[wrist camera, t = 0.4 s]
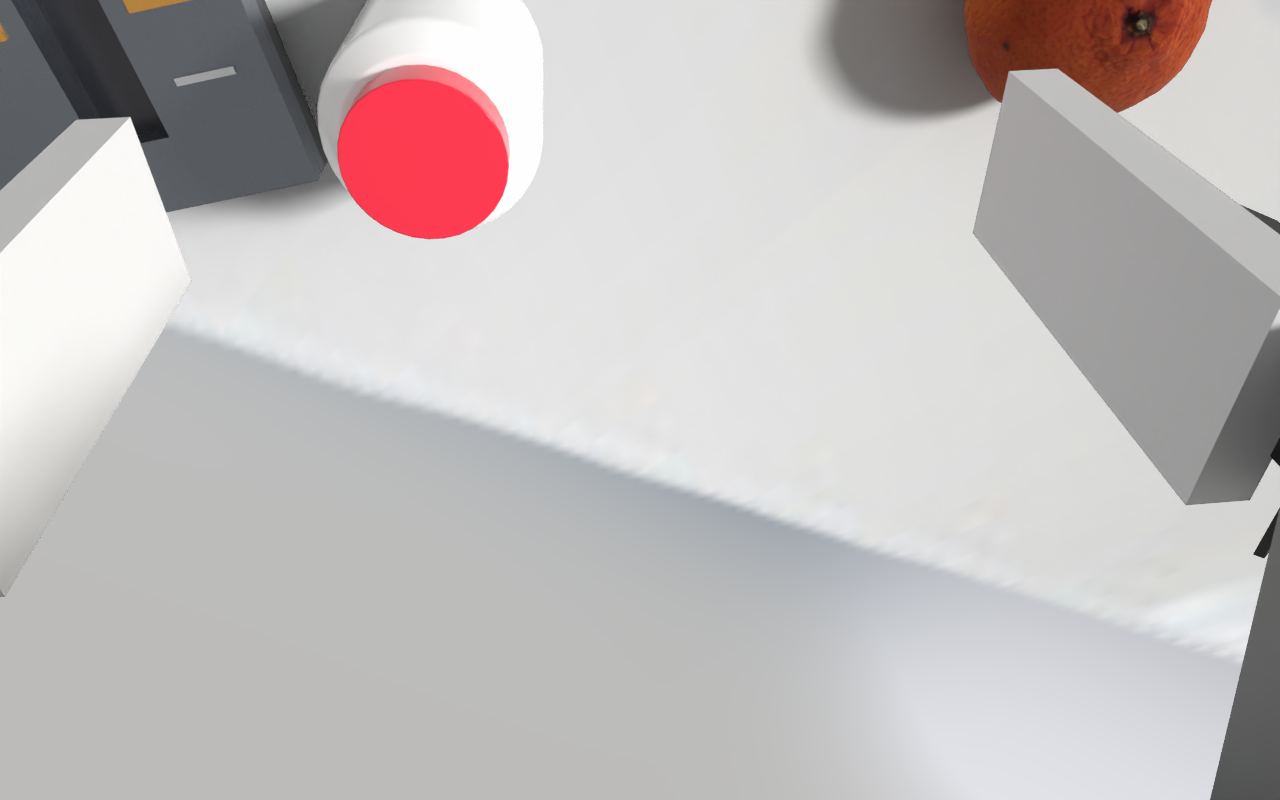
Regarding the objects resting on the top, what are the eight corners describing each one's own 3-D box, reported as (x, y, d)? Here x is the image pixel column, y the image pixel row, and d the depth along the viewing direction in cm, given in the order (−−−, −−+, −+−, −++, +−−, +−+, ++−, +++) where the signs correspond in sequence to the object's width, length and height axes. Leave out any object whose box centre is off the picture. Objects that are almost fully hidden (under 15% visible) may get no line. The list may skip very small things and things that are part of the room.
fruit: (956, -132, 36) (1045, -95, 29) (1178, -144, 36) (1312, -110, 30) (922, 94, 41) (990, 166, 35) (1115, 81, 42) (1217, 150, 35)
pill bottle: (569, 113, 40) (576, 228, 32) (408, 170, 41) (372, 296, 33) (500, -71, 36) (485, 4, 27) (320, -3, 37) (250, 91, 28)
